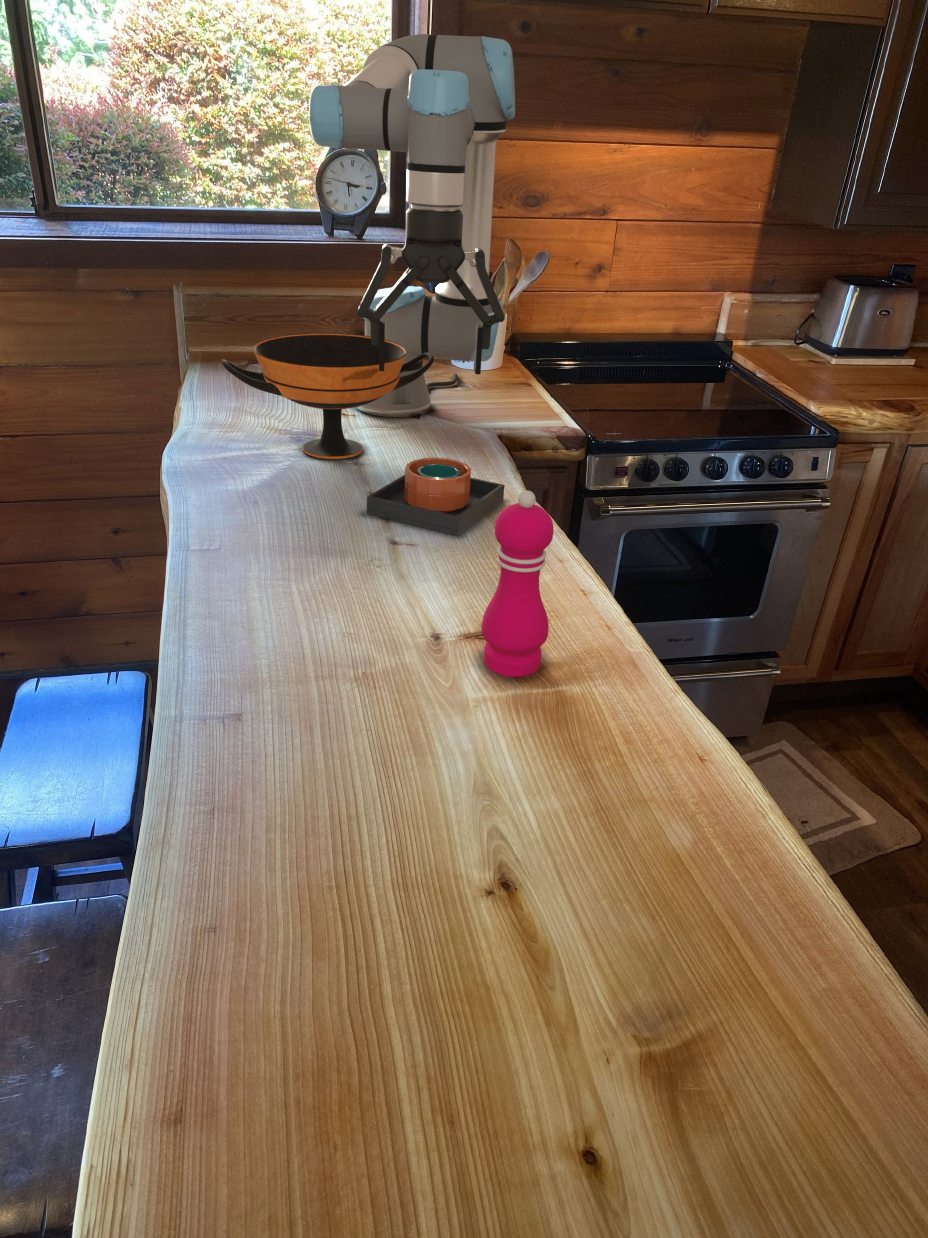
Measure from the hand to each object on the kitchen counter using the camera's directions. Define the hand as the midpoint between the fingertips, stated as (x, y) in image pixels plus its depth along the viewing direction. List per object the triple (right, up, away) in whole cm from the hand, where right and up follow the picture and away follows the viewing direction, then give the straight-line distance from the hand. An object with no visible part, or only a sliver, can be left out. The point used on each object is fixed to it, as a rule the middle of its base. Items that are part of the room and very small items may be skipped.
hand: (429, 370), depth 128 cm
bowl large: (+1, -18, +9) cm, 20 cm away
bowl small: (+1, -17, +9) cm, 19 cm away
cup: (-18, -6, +31) cm, 36 cm away
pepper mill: (+10, -40, -29) cm, 51 cm away
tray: (+1, -18, +9) cm, 21 cm away
